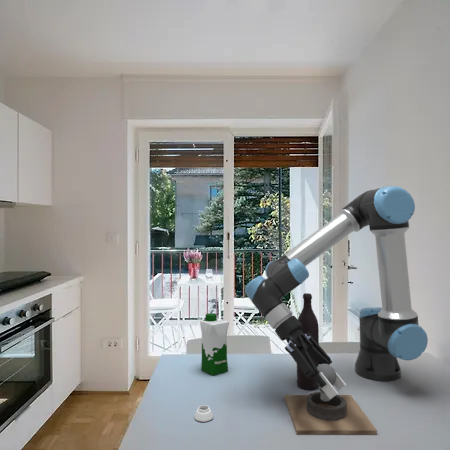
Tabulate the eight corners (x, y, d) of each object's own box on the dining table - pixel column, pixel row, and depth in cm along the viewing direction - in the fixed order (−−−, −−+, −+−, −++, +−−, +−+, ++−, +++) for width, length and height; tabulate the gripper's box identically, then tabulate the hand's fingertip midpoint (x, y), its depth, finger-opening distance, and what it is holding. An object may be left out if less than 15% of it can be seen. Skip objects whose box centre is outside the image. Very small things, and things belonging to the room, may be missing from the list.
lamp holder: (350, 398, 113) (350, 385, 113) (377, 434, 93) (376, 418, 93) (284, 398, 113) (284, 384, 113) (296, 434, 93) (296, 418, 93)
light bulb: (337, 406, 100) (337, 369, 100) (314, 404, 101) (314, 367, 101) (335, 396, 106) (335, 361, 106) (313, 395, 107) (313, 359, 107)
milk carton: (216, 364, 142) (216, 311, 142) (232, 371, 135) (231, 315, 135) (197, 370, 136) (197, 315, 137) (212, 377, 129) (212, 319, 129)
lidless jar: (216, 416, 103) (201, 412, 105) (216, 405, 103) (201, 401, 105) (206, 425, 98) (190, 420, 101) (206, 413, 98) (190, 409, 101)
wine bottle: (298, 380, 127) (298, 291, 127) (320, 383, 124) (319, 292, 125) (295, 388, 120) (294, 295, 120) (318, 391, 118) (317, 296, 118)
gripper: (289, 323, 120) (340, 387, 110) (259, 337, 105) (315, 412, 95) (305, 309, 117) (358, 373, 107) (276, 321, 102) (336, 397, 92)
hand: (338, 391), depth 101 cm, fingers closed on light bulb, 6 cm apart
